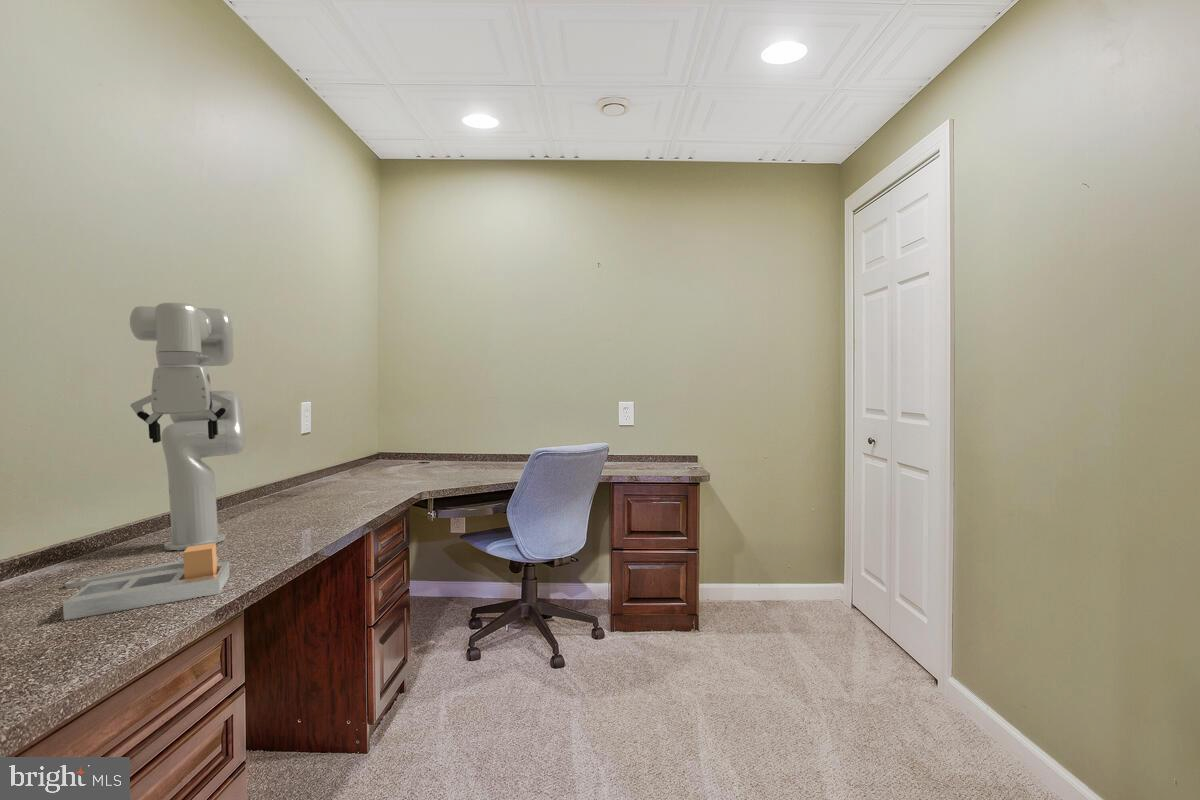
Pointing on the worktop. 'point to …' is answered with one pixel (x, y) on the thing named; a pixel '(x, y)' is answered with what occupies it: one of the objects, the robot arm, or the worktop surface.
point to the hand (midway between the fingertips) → (184, 440)
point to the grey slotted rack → (127, 573)
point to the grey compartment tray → (142, 591)
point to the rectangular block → (200, 561)
